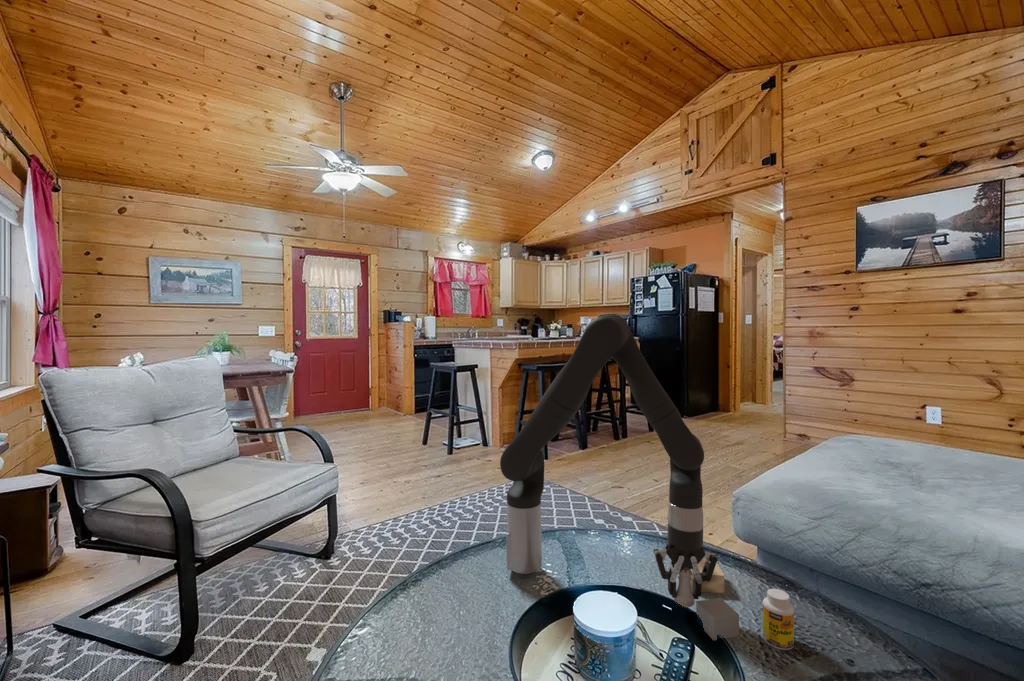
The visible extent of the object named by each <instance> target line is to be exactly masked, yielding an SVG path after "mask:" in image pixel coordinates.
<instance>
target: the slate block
mask: <svg viewBox="0 0 1024 681" xmlns="http://www.w3.org/2000/svg"><path fill="white" fill-rule="evenodd" d="M695 605H696V607H695V609H696V612H695V614H697V615H699V617H700V618H701V620H702V623H703V628H704V630H703V631H704V632H705V633H706V634H707V636H708V637H709V638H710V639H712V641H717V635H718V634H720V635H721V636H723V637H724V638H725V639H729V638H735V637H740V614H739V613H738V612H737V611H736V610H735V609H734V608H732V607H731V606H730V605H729V604H728V603H727V602H726V601H725V600H724V599H723V598H722V597H718V598H711V599H704V600H703V599H702V600H696V602H695Z"/></svg>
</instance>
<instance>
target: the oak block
mask: <svg viewBox="0 0 1024 681" xmlns="http://www.w3.org/2000/svg"><path fill="white" fill-rule="evenodd" d="M704 564H705V557H704V558H703V559H702V560H701V561H700V562H699V564H698V567H699V570H700V573H702V570H703V567H704ZM691 571H692V569H691ZM690 578H691V581H690V586H691V591H692V587H693V579H694V575H693V572H692V575H691V576H690ZM701 593H715V594H717V593H718V594H725V574H724V573H723V571H722V569H721V567H720V566H719V563H718V562H717V563H716V566H715V569H714V571H713V574H712V577H711V580H710V581H709V582H707V581H704V582H702V584H701Z"/></svg>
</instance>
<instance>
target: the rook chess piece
mask: <svg viewBox="0 0 1024 681" xmlns="http://www.w3.org/2000/svg"><path fill="white" fill-rule="evenodd" d="M691 575H692V571H691V569H688V568H683V569H680V572H679V574H678V575H677V578H678V585H677V587H676V598H673V599H674V602H675V603H676V602H677V603H678V604H680V605H682V606H681V607H683V606H684V607H683V608H692V607H693V606H694V605H695V604H696V602H695V600H696V599H695V598H694V595H693V593H692V591H691V586H690V581H691V578H690V576H691ZM677 603H676V604H677ZM678 604H677V605H678ZM680 605H679V606H680Z"/></svg>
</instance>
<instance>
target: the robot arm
mask: <svg viewBox="0 0 1024 681" xmlns="http://www.w3.org/2000/svg"><path fill="white" fill-rule="evenodd" d="M611 358H612V359H613V360H614V361H615V363H616V364H617V365H618V368H620V370H621V372H622V374H623V376H624V377H625V379H626V381H627V384H628V388H629V389H630V392H631V394H632V397H633V399H634V401H635V403H636V405H637V407H638V408H639V410H640V411H641V413H642V414H643V416H644V418H645V419H646V421H647V422H648V423H649V425H650V427H651V428H652V429H653V430H654V431H655V434H657V437H658V438H659V441H660V442H661V444H662V446H663V448H664V450H665V451H666V454H667V455H668V456H669V467H670V468H669V470H670V471H669V472H670V478H669V479H670V480H669V486H668V487H669V491H668V492H669V495H668V496H669V498H668V508H667V517H666V518H667V519H666V520H667V543H666V545H665V548H663V549H658V548H654V549H653V555H654V558H655V561H656V564H657V567H658V571H659V574H660V576H661V578H662V579H663V580H667V591H668V593H669V595H670V596H671V598H672V599H674V598H676V589H677V582H676V580H677V578H678V576H679V572H680V569H683V568H688V569H692V572H693V575H694V579H693V587H692V594H693V595H694V598H695V599H694V600H700V599H699V598H700V597H701V596H702V592H701V584H702V582H704V581H707V582H709V581H710V580H711V577H712V574H713V571H714V569H715V566H716V563H718V557H717V556H716V554H715V553H714V552H713V551H706V550H705V549H704V510H703V494H704V492H703V483H702V479H701V475H702V474H701V472H702V470H701V469H702V465H703V463H704V460H705V452H704V448H703V446H702V443H701V441H700V439H699V438H698V437H697V436H696V435H695V434H693V432H691V430H690V429H689V427H688V426H687V424H686V423H685V422H684V420H683V418H682V415H681V413H680V411H679V409H678V408H677V407H676V405H675V403H674V402H673V400H672V399H671V398H670V396H669V394H668V393H667V392H666V390H665V389H664V388H663V386H662V385H661V382H659V380H658V379H657V377H656V375H655V374H654V372H653V370H652V368H651V367H650V365H649V364H648V362H647V360H646V358H645V357H644V355H643V353H642V351H641V348H640V347H639V345H638V344H637V341H636V338H635V337H634V333H632V330H631V328H630V326H629V323H628V322H627V320H626V319H625V318H623V317H622V316H620V315H618V314H615V313H606V314H602V315H600V316H597V317H596V318H595V317H594V318H593V319H592V320H591V321H590V322H589V323H588V325H587V326H586V327H585V329H584V331H583V334H582V335H581V338H580V339H579V341H578V343H577V345H576V347H575V349H574V351H573V353H572V354H571V356H570V358H569V359H568V361H567V363H565V365H564V366H563V367H562V368H561V370H559V372H558V374H557V375H556V376H555V377H554V379H553V381H552V382H551V383H550V384H549V386H548V387H547V389H546V390H545V392H544V394H543V395H542V397H541V398H540V400H539V402H538V403H537V405H536V407H535V408H534V409H533V411H532V413H531V414H530V415H529V418H528V419H527V420H526V422H525V423H524V425H523V427H522V429H521V430H520V431H519V432H518V434H517V435H516V436H515V437H514V438H513V440H512V441H511V442H510V443H509V445H507V447H506V448H504V451H503V452H502V454H501V456H500V462H499V467H500V471H501V474H502V476H503V477H504V478H506V480H507V479H508V480H509V481H512V482H513V483H512V484H511V486H510V487H509V489H508V490H507V493H506V519H507V520H506V523H507V524H506V528H507V531H506V534H505V537H506V539H505V540H506V541H505V542H506V549H505V550H506V551H505V552H506V570H507V571H508V570H509V571H513V572H514V573H517V574H522V575H523V574H525V575H526V574H533V573H535V572H537V571H539V570H540V569H541V568H542V566H543V562H542V561H543V556H542V554H543V551H542V550H543V549H542V546H543V545H542V543H543V542H542V495H543V492H544V488H545V456H544V453H543V450H542V449H543V448H544V447H545V446H546V445H547V444H548V443H549V442H550V441H551V440H553V439H554V438H555V437H556V436H557V435H558V434H560V432H561V431H563V429H565V428H566V427H567V426H568V425H569V423H570V422H571V421H572V420H573V419H574V417H575V416H576V414H577V413H578V411H579V410H580V408H581V407H582V405H583V404H584V401H585V400H586V397H587V396H588V394H589V391H590V388H591V386H592V383H593V381H594V380H595V378H596V376H597V375H598V374H599V372H600V371H601V370H602V368H603V367H604V366H605V365H606V364H607V362H608V361H609V360H610V359H611ZM666 556H668V558H669V559H670V562H669V567H668V570H666V568H665V564H664V561H666ZM703 558H705V564H704V567H703V570H702V573H700V570H699V567H698V564H699V562H700V561H701V560H702V559H703Z"/></svg>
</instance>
